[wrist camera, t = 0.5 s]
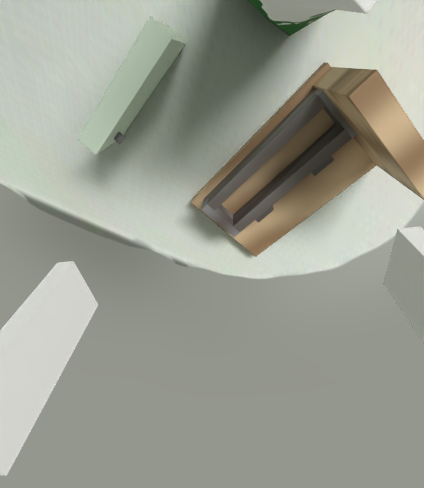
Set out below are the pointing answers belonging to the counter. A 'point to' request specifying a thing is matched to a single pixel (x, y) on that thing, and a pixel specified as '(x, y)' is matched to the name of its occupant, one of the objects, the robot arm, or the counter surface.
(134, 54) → the pale green rectangular block
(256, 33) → the counter surface
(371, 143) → the wooden stand with tray
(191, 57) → the counter surface
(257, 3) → the milk carton
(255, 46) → the counter surface
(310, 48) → the counter surface
